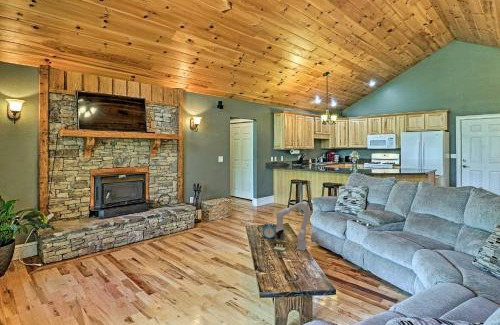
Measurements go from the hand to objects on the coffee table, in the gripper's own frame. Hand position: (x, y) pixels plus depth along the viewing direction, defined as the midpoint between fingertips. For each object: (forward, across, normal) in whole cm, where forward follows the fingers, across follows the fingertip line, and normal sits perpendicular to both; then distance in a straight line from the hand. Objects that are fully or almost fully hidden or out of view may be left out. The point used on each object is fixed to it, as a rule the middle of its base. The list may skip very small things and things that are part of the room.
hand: (279, 237), depth 273 cm
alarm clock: (+8, -17, -19) cm, 27 cm away
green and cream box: (+8, +10, +4) cm, 13 cm away
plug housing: (+2, 0, -2) cm, 2 cm away
